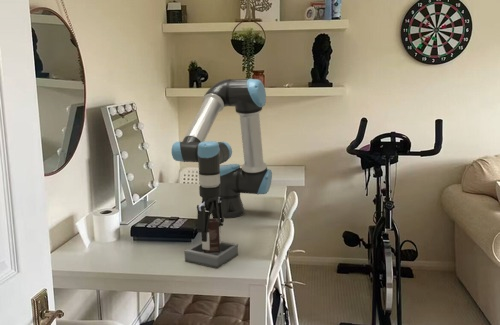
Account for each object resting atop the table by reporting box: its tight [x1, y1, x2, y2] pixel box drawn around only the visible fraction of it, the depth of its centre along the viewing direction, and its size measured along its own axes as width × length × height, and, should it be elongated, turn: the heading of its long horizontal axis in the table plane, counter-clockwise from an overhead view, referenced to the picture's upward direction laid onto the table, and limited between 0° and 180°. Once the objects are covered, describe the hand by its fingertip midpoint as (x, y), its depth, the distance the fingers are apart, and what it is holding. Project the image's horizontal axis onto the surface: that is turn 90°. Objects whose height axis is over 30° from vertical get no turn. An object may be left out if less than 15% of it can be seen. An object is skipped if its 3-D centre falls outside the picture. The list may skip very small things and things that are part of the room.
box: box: [204, 217, 220, 253], centre depth 182 cm, size 6×4×12 cm
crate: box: [183, 240, 239, 269], centre depth 183 cm, size 14×14×4 cm
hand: (211, 245), depth 182 cm, fingers closed on box, 7 cm apart
